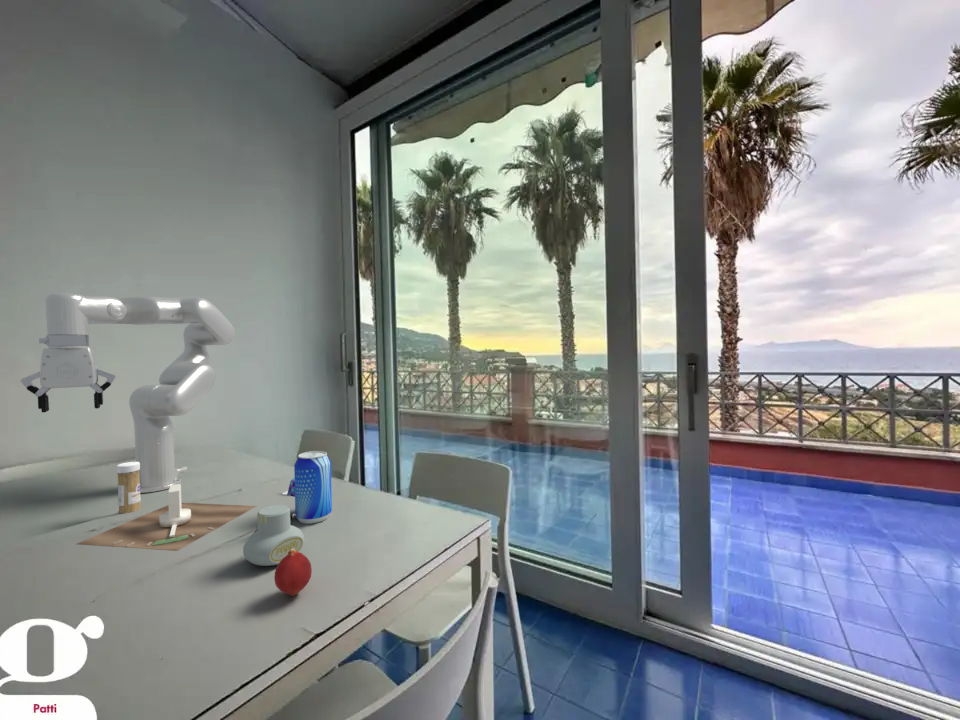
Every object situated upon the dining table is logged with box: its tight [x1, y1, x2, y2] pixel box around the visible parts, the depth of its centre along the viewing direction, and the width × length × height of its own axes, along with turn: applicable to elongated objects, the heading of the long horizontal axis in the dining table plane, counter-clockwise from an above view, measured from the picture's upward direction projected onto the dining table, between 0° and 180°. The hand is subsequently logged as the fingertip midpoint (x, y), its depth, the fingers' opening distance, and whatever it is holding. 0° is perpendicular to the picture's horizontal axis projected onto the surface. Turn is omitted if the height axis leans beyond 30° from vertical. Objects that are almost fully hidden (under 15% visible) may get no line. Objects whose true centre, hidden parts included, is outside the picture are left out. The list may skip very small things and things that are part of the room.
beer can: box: [293, 450, 333, 525], centre depth 104 cm, size 8×8×16 cm
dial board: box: [76, 502, 257, 551], centre depth 98 cm, size 24×24×2 cm
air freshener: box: [242, 504, 305, 567], centre depth 83 cm, size 11×8×10 cm
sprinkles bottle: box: [116, 461, 142, 514], centre depth 106 cm, size 5×5×14 cm
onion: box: [274, 549, 313, 597], centre depth 71 cm, size 6×6×8 cm
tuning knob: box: [159, 483, 191, 537], centre depth 95 cm, size 12×6×8 cm, turn 32°
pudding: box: [281, 477, 295, 498], centre depth 120 cm, size 12×12×5 cm
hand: (72, 409), depth 106 cm, fingers open, 9 cm apart
